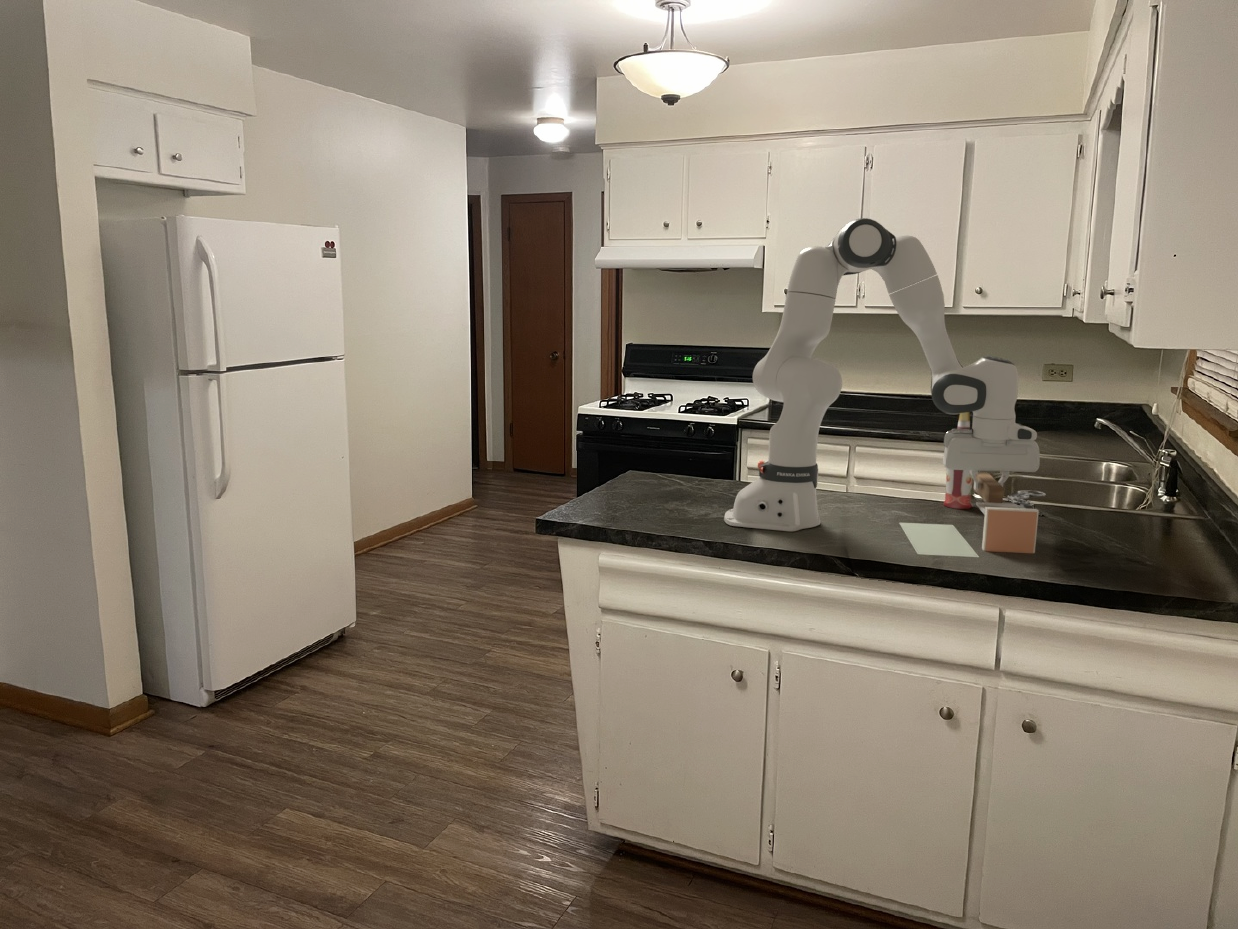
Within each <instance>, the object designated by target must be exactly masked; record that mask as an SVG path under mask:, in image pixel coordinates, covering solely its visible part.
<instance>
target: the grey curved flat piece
mask: <svg viewBox="0 0 1238 929" xmlns="http://www.w3.org/2000/svg"><path fill="white" fill-rule="evenodd" d="M1046 496H1047V493H1045V492H1043V491H1038V490H1034V489H1033V490H1031V489H1030V490H1025V489H1024V490H1023V489H1021V490H1018V491H1015V492H1013V493H1009V495H1007V498H1006V499H1007V501H1009V500H1011V502H1010V503H1015V504H1016V505H1017V506H1018V507H1019V508H1026V509H1035V508H1034V507H1035V506H1034V505H1035V504H1034V503H1033V504H1030V503H1031V502H1030V500H1029V499H1030V498H1042V497H1046ZM1032 505H1033V506H1032ZM1038 516H1042V513H1041V514H1040V512H1039V513H1038Z"/></svg>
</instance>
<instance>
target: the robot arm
mask: <svg viewBox="0 0 1238 929" xmlns="http://www.w3.org/2000/svg"><path fill="white" fill-rule="evenodd" d="M868 270H873V271H874V272H876V273H877V274H878V275H879V276H880V277H881V278H882V280H883V281H884V284H885V286H886V289H887V293H888V296H889V298H890V301H891V303H892V305H893V307H894V309H895V311H896V312H897V314H898V316H899V317H900V319H901V320H902V322H903V323H904V324H905V325H906V326H908V327H909V329H911V330H912V332H913V333H914V334H915V335H916V336H915V337H917V339H918V341H919V342H920V346H921V347H922V351H923V352H924V355H925V358H926V360H927V364H928V365H929V368H930V371H931V372H930V374H931V381H930V394H931V399H932V402H933V404H934V406H935V407H936V408H937V409H938V410H939V411H941V412H942V413H945V414H948V415H958V414H959V415H960V413H965V412H970V413H971V412H972V413H973V414H972V426H971V428H970V429H957V428H951V430H948V431H947V432H946V433H945V434H944V437H943V445H944V447H945V448H944V451H943V456H942V465H943V466H944V467H945V468H947V469H949V470H970V475H971V477H972V478H973V488H974V489H975V490H982V486H983V482H981V481H978V479H977V477H976V475H978V472H981V471H985V472H986V471H988V472H1000V475H1001V477H1000V478H999V480H998V481H997V482H998V483H999V484H1000V485H1001V486H1002V487H1003V488H1004V484H1005V483H1006V481H1007V480H1008V478H1010V473H1011V472H1019V473H1020V472H1021V473H1024V472H1025V473H1036V472H1037V471H1038V470H1039V468H1040V462H1041V461H1040V460H1041V459H1040V458H1041V456H1040V455H1041V454H1040V447H1039V444H1038V442H1036V441H1035V440H1037V437H1038V433H1037V431H1036V430H1034V429H1033V428H1030V427H1029V426H1026V425H1023V424H1021V423H1016V416H1017V415H1016V411H1015V406H1016V403H1017V400H1018V392H1019V373H1018V372H1019V371H1018V368H1017V366H1016V365H1015V363H1013V361H1010V360H1008V359H1005V358H1001V357H996V356H989V355H988V356H982V357H980V358H979V359H978V360H976V361H974V362H972V363H971V364H968V365H966V366H963V365H962V364H961V363H960V361H959V360H958V358H957V355H956V352H955V350H954V348H953V345H952V343H951V339H950V337H949V335H948V334H949V333H948V331H947V329H946V328H947V327H946V321H945V310H946V309H945V306H946V304H945V297H944V291H943V288H942V284H941V280H940V278H939V275H938V273H937V271H936V268H935V266H934V262H932V259H931V257H930V256H929V254H928V252H927V250H926V248H925V246H924V245H923V243H922V242H921V240H920V239H918V238H917V237H915V236H913V235H900V236H895V235H894V234H893V233H892V232H891V231H889V230H888V229H886V228H885V227H884V226H883V225H882V224H881V223H879V222H878V221H876V220H874V219H872V218H868V217H867V218H866V217H862V218H861V217H860V218H856V219H854V220H851V221H850V222H848V223H846V225H844V226H843V227H841V228H840V229H839V231H838V232H837V233H836V235H835V236H834V237H833V238H832V240H831V241H830V243H829V244H828V245H826V246H818V245H817V246H816V245H815V246H808V247H807V248H803V250H801V251H800V253H799V254H798V255H797V257H796V260H795V263H794V265H793V268H792V271H791V273H790V277H789V278H790V279H789V281H788V286H787V291H786V296H785V297H786V298H785V302H784V307H783V311H782V317H781V320H780V321H781V322H780V324H779V328H778V332H777V334H776V336H775V338H774V340H773V342H772V344H771V345H770V348H769V350H768V352H767V353H766V354H765V356H764V357H762V359H760V360H759V361H758V362H757V364H756V365H755V366H754V369H753V372H752V383H753V387H754V388H755V390H756V391H757V393H759V394H760V395H762V396H764V397H765V398H767V399H769V400H771V401H775V402H780V403H783V405H782V411H781V414H780V416H779V419H778V420H777V422H776V423H774V424H773V425H772V426H771V427H770V430H769V433H768V434H769V436H768V438H769V439H768V459H767V461H764V460H759V462H757V468H758V475H759V476H758V478H757V479H755V480H754V481H751V483H749V484H748V485H746V486H745V487H743V488H742V489H740V490H739V491H738V493H737V494H736V497H735V500H734V502H733V503H734V504H733V508H731V509H728V510H727V511H725V513H724V517H723V521H724V522H725V523H726V524H727V525H729V526H731V527H732V526H733V527H739V528H740V527H743V528H752V529H762V530H772V531H781V532H782V531H783V532H797V531H800V530H803V529H810V528H814V527H817V526H819V525H820V524H821V519H820V515H819V510H818V502H817V501H818V499H817V487H818V483H819V482H818V481H819V465H818V463H817V457H818V456H817V453H818V440H819V439H818V438H819V431H820V427H821V425H822V421H823V418H824V417H825V414H826V412H827V410H828V408H829V407H830V406H831V405H832V404H834V402H835V401H837V399H838V398H839V397H840V394H841V392H842V387H843V378H842V374H841V372H840V371H839V369H838V368H837V367H836V366H835V365H833V364H832V363H829V362H827V361H825V360H823V359H820V358H815V357H812V356H813V354H814V352H815V349H817V347H818V345H819V344H820V342H822V341H823V340H824V339H825V338H827V337H828V335H829V333H830V331H831V327H832V320H833V316H834V310H835V305H836V299H837V293H838V287H839V285H840V281H841V279H842V278H843V276H848V275H849V276H850V275H856V274H860V273H863V272H865V271H868ZM950 432H951V433H950ZM952 433H953V434H952ZM958 433H960V434H958ZM974 489H973V490H974ZM975 490H974V491H975Z"/></svg>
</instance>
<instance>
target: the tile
mask: <svg viewBox="0 0 1238 929" xmlns="http://www.w3.org/2000/svg"><path fill="white" fill-rule="evenodd" d="M1038 513H1040V510H1039V509H1037V508H1034V509H1026V508H1001V507H985V515H984V519H983V529H982V530H983V531H982V543H981V550H982V551H984V552H997V553H998V552H1001V553H1019V554H1020V553H1021V554H1035V553H1036V542H1037V534H1038V533H1037V532H1038V531H1037V530H1038V524H1039V523H1038V522H1039V515H1038Z"/></svg>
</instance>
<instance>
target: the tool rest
mask: <svg viewBox="0 0 1238 929" xmlns="http://www.w3.org/2000/svg"><path fill="white" fill-rule="evenodd" d="M898 524H899V525H900V527H901V528H902V530H903V532H904V533H905V535H906V538H907V539H908V541H909V542H910V544H911V546H912V547H913V549H914V550H915V552H916V554H917V555H920V556H921V555H926V556H941V557H942V556H943V557H945V556H946V557H966V558H980V556H979V555H978V554H977V552H976V551H975V550H974V549H973V547H972V546H971V545H970V544H969V543H968V541H967V540H966V539H965V538H964V537H963V535H962V534H961V533H960V532H959V531H958V529H957V528H956V527H955V526H954V525H953V524H939V523H917V522H916V523H914V522H899V523H898Z"/></svg>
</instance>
